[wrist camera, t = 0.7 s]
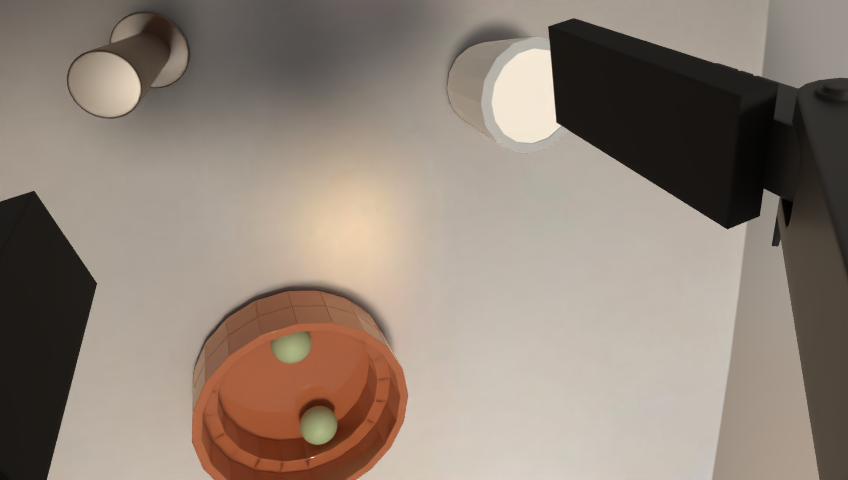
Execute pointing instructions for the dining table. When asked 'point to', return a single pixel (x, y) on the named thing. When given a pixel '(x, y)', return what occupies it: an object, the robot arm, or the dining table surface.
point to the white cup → (507, 92)
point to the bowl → (296, 392)
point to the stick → (128, 65)
